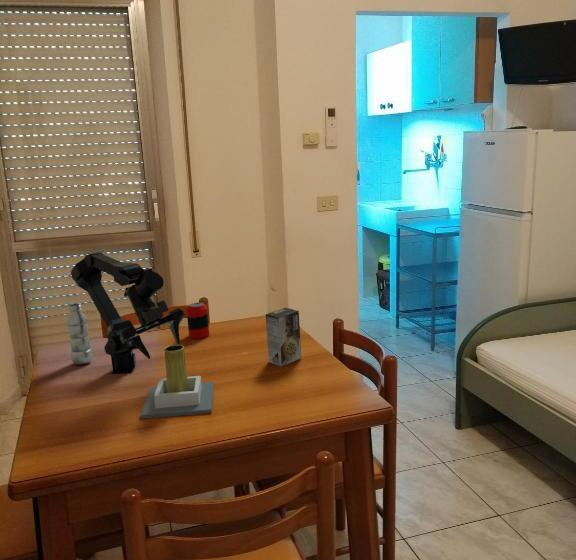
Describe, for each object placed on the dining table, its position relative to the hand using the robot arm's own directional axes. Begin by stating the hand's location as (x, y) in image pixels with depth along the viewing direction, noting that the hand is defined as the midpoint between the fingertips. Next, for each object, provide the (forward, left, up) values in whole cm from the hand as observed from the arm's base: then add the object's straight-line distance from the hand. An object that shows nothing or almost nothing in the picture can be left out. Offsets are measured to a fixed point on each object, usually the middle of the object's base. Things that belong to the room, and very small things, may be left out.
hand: (164, 352), depth 159 cm
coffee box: (+35, +13, -11) cm, 39 cm away
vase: (+4, -11, -10) cm, 15 cm away
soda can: (+6, +45, -11) cm, 47 cm away
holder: (+4, -11, -10) cm, 16 cm away
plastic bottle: (-31, +25, -11) cm, 41 cm away
